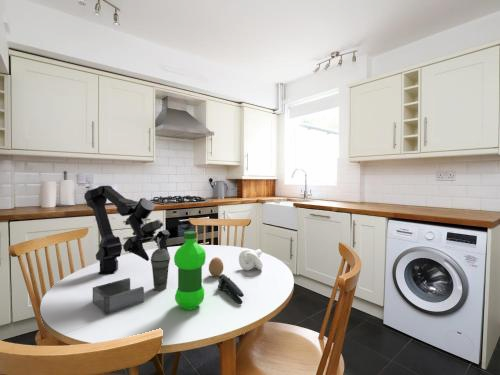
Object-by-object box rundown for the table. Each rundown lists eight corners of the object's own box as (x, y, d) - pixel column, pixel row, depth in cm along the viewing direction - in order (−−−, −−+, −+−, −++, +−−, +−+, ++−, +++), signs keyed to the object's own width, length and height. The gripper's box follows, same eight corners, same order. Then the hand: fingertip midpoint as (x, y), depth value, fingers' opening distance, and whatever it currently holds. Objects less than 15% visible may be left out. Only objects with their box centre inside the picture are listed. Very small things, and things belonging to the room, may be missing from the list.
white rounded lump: (246, 262, 134) (247, 245, 133) (268, 266, 128) (268, 248, 128) (236, 269, 124) (236, 250, 123) (259, 274, 118) (259, 254, 118)
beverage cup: (164, 293, 97) (164, 240, 96) (146, 291, 98) (146, 238, 98) (173, 285, 104) (173, 235, 103) (157, 283, 105) (157, 234, 105)
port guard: (128, 290, 98) (128, 277, 98) (143, 301, 90) (143, 287, 90) (92, 301, 89) (92, 287, 89) (105, 314, 81) (105, 299, 81)
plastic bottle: (199, 315, 82) (200, 236, 81) (168, 311, 84) (168, 234, 83) (209, 300, 92) (210, 230, 91) (181, 297, 93) (182, 228, 93)
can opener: (214, 287, 104) (214, 273, 103) (230, 284, 107) (230, 270, 107) (231, 306, 88) (231, 290, 88) (250, 302, 91) (250, 286, 91)
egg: (224, 273, 118) (224, 255, 118) (222, 279, 112) (222, 260, 111) (210, 273, 118) (210, 255, 118) (207, 278, 112) (207, 259, 112)
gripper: (127, 216, 96) (147, 250, 90) (167, 211, 112) (186, 239, 106) (114, 235, 100) (133, 268, 94) (154, 227, 116) (172, 255, 111)
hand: (158, 257), depth 101 cm, fingers open, 9 cm apart
